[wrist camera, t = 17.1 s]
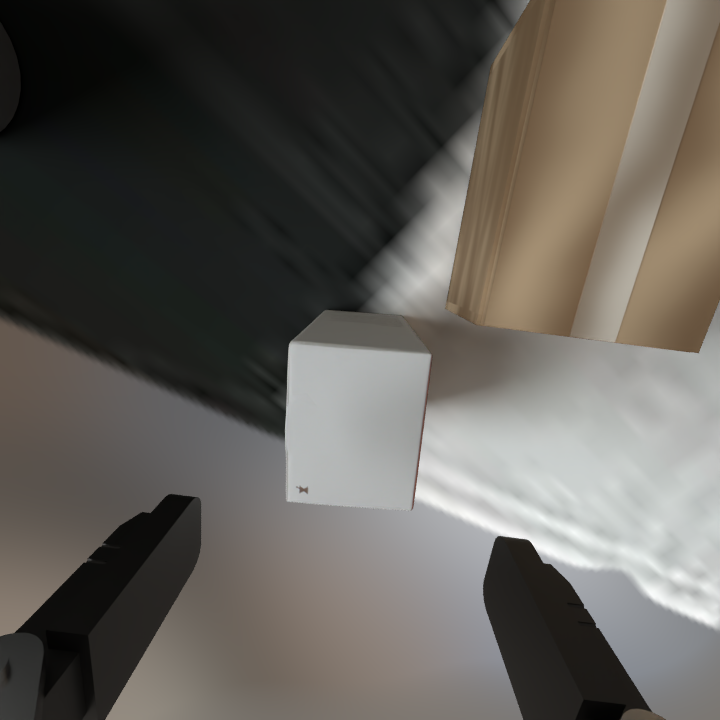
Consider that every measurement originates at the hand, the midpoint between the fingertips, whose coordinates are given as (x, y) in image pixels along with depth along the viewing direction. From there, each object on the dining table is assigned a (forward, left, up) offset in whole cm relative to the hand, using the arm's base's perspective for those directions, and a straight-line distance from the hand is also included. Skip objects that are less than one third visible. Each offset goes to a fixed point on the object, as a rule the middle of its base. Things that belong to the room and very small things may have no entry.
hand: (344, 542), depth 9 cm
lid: (+12, +13, -11) cm, 21 cm away
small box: (0, 0, -20) cm, 20 cm away
